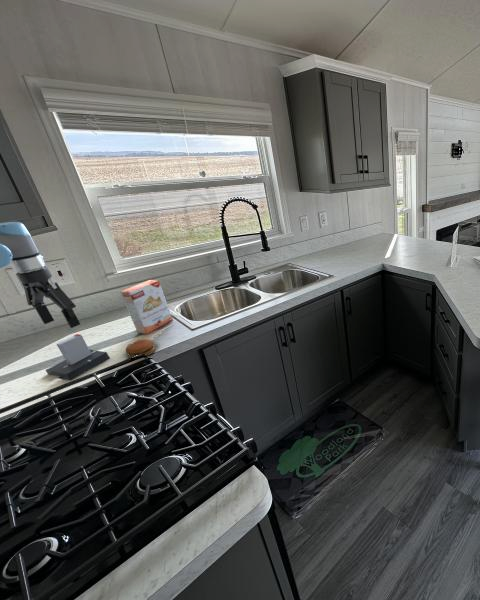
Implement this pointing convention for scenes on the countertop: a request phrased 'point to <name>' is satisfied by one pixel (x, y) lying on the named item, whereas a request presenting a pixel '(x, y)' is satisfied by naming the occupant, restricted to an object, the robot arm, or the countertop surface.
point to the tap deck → (78, 366)
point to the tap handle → (74, 349)
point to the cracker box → (147, 306)
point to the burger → (140, 347)
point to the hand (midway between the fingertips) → (62, 324)
